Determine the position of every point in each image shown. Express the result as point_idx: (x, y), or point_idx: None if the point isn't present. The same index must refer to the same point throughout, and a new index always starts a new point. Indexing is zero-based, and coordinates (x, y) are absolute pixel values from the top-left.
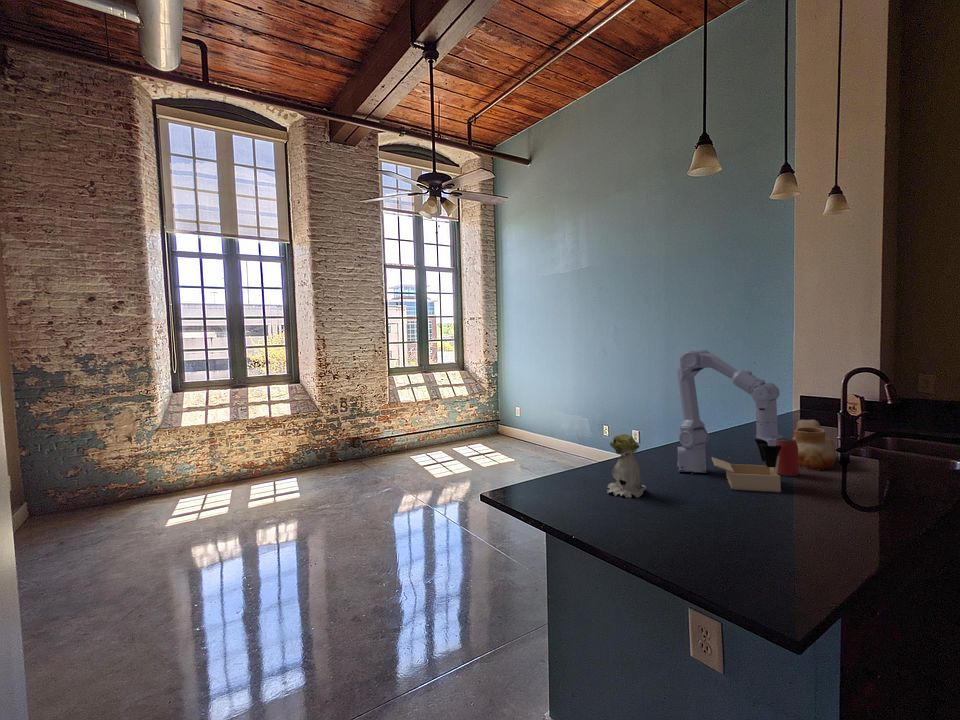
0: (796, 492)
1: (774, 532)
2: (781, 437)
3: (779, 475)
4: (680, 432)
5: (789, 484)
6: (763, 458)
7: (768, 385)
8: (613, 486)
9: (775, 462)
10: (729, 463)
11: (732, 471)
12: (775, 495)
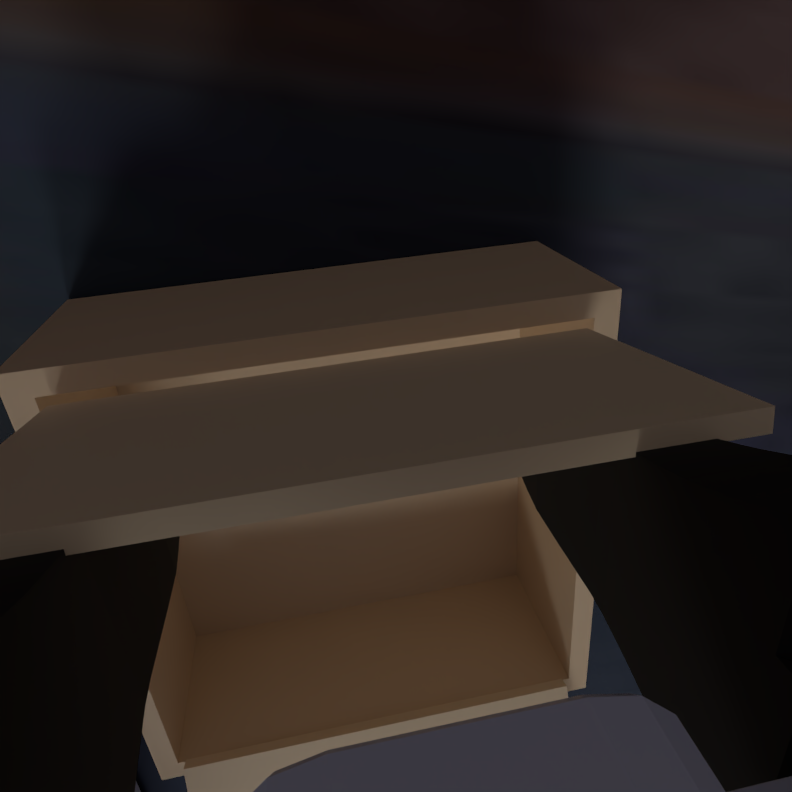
0: (494, 81)
1: None
2: (706, 774)
3: (589, 295)
4: None
5: (155, 111)
6: (166, 548)
7: None
8: None
9: None
10: (211, 767)
11: (565, 697)
12: (632, 292)
